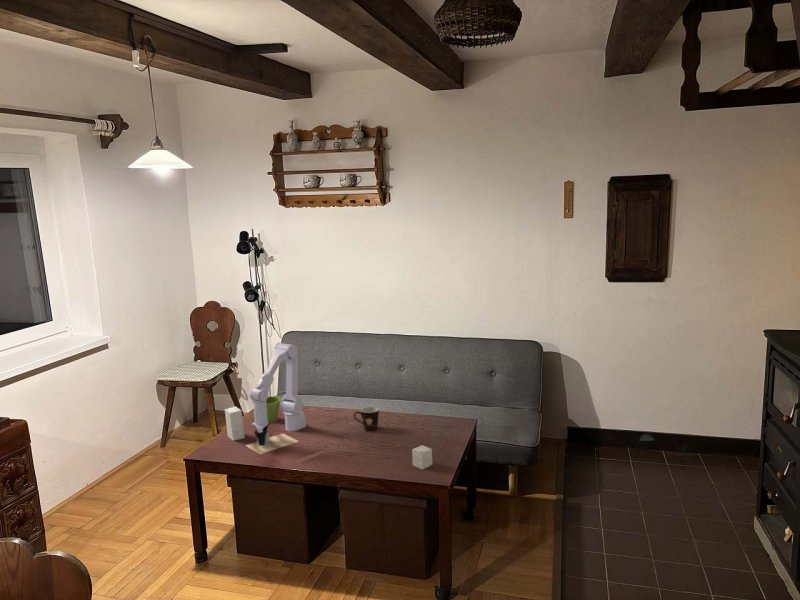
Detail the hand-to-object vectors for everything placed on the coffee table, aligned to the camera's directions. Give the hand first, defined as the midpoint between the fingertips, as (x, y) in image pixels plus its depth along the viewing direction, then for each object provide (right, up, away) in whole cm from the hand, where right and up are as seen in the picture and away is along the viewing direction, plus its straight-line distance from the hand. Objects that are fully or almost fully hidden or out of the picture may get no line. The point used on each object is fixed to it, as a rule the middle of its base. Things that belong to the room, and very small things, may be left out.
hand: (262, 441), depth 295 cm
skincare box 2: (+73, -4, -26) cm, 77 cm away
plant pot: (-3, +3, +32) cm, 32 cm away
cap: (0, -1, 0) cm, 1 cm away
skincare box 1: (-15, -1, +10) cm, 18 cm away
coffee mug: (+48, +2, +17) cm, 51 cm away
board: (+4, -2, 0) cm, 5 cm away
